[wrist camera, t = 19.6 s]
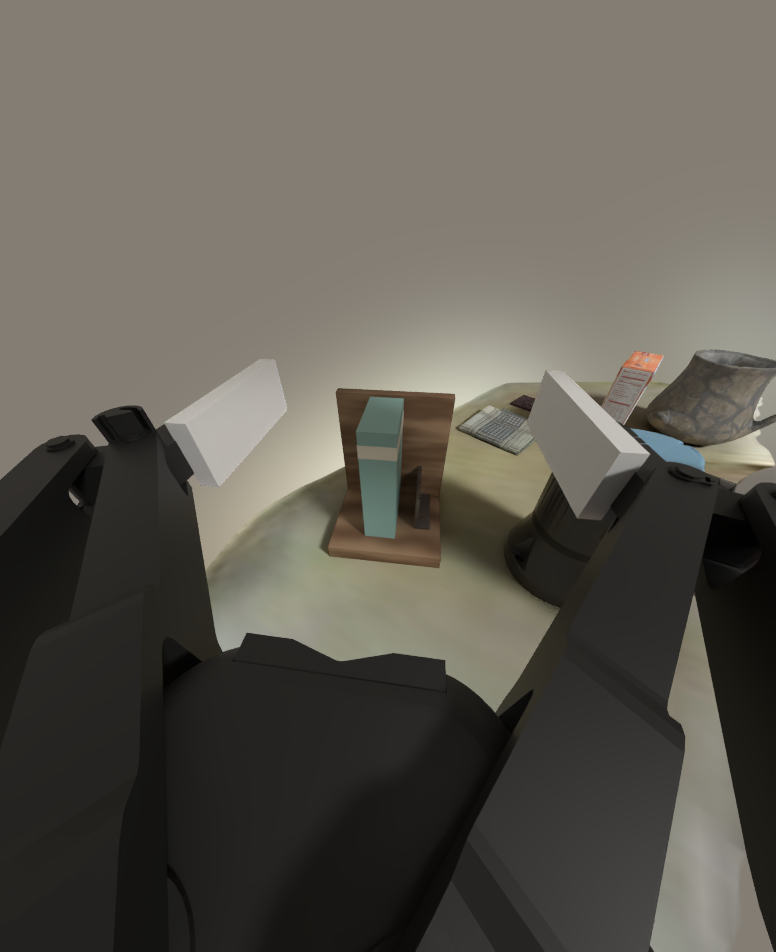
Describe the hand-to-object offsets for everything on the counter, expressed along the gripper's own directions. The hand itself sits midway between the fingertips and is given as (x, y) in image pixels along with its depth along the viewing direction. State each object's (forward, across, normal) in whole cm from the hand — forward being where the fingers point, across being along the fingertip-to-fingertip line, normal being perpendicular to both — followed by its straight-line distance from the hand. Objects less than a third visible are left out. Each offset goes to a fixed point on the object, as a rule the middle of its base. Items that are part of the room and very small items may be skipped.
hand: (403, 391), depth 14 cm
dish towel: (+58, +25, -35) cm, 72 cm away
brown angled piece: (+21, -3, -34) cm, 40 cm away
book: (+20, -4, -32) cm, 37 cm away
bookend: (+22, +3, -32) cm, 38 cm away
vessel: (+61, +72, -34) cm, 101 cm away
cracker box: (+54, +48, -34) cm, 80 cm away
